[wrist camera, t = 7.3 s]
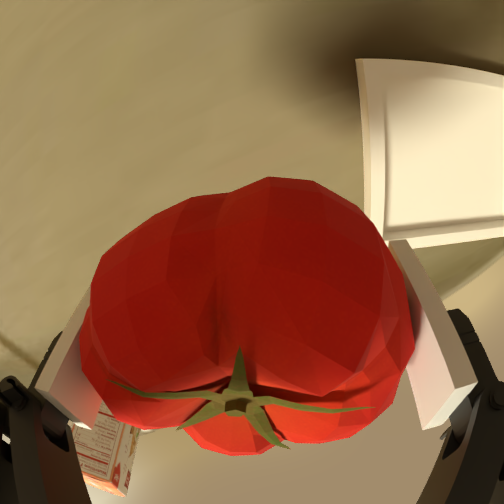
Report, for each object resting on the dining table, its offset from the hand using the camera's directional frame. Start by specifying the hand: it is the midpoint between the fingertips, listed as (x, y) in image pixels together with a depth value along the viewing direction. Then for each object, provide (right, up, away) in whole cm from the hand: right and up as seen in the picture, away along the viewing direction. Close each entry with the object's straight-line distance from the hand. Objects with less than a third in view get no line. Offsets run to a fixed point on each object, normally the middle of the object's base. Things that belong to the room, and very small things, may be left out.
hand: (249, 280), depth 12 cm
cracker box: (-16, -13, +27) cm, 34 cm away
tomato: (0, 0, 0) cm, 0 cm away
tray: (+18, +10, +9) cm, 23 cm away
